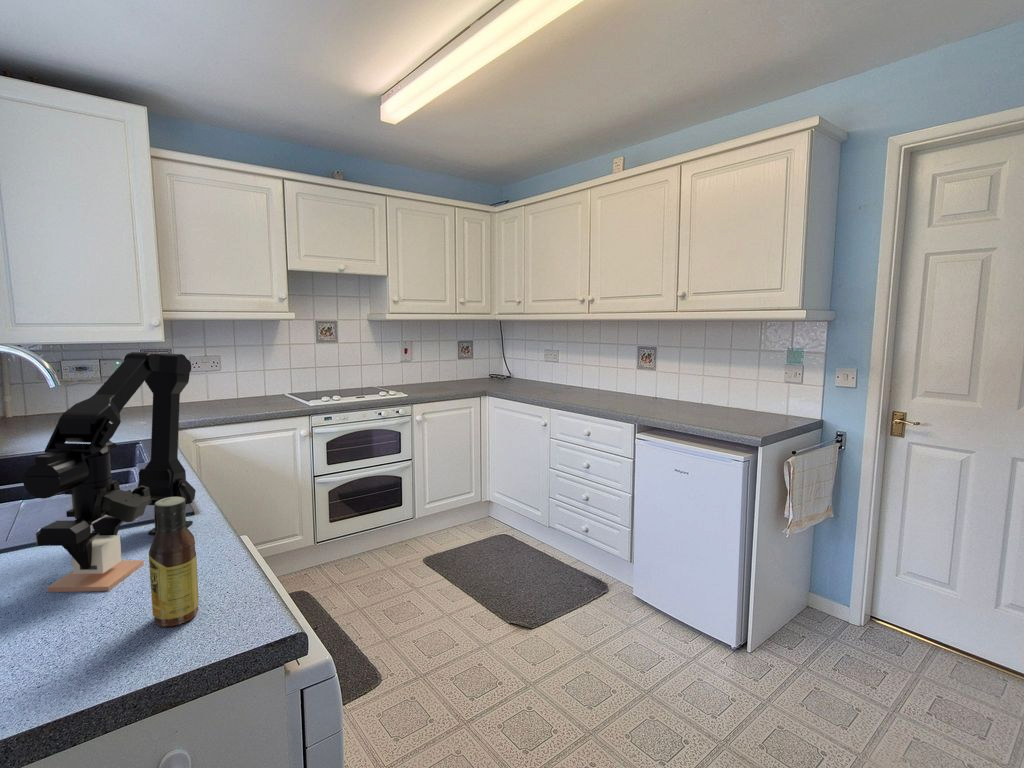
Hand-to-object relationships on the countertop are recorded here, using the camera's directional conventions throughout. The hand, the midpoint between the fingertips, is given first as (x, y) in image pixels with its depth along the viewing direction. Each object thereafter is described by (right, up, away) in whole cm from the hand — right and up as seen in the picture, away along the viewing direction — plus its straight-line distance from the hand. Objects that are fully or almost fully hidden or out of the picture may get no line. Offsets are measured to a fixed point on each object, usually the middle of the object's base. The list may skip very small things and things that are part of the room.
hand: (97, 561), depth 95 cm
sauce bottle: (+22, -5, -12) cm, 25 cm away
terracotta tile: (0, -3, 0) cm, 3 cm away
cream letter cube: (0, -1, 0) cm, 1 cm away
